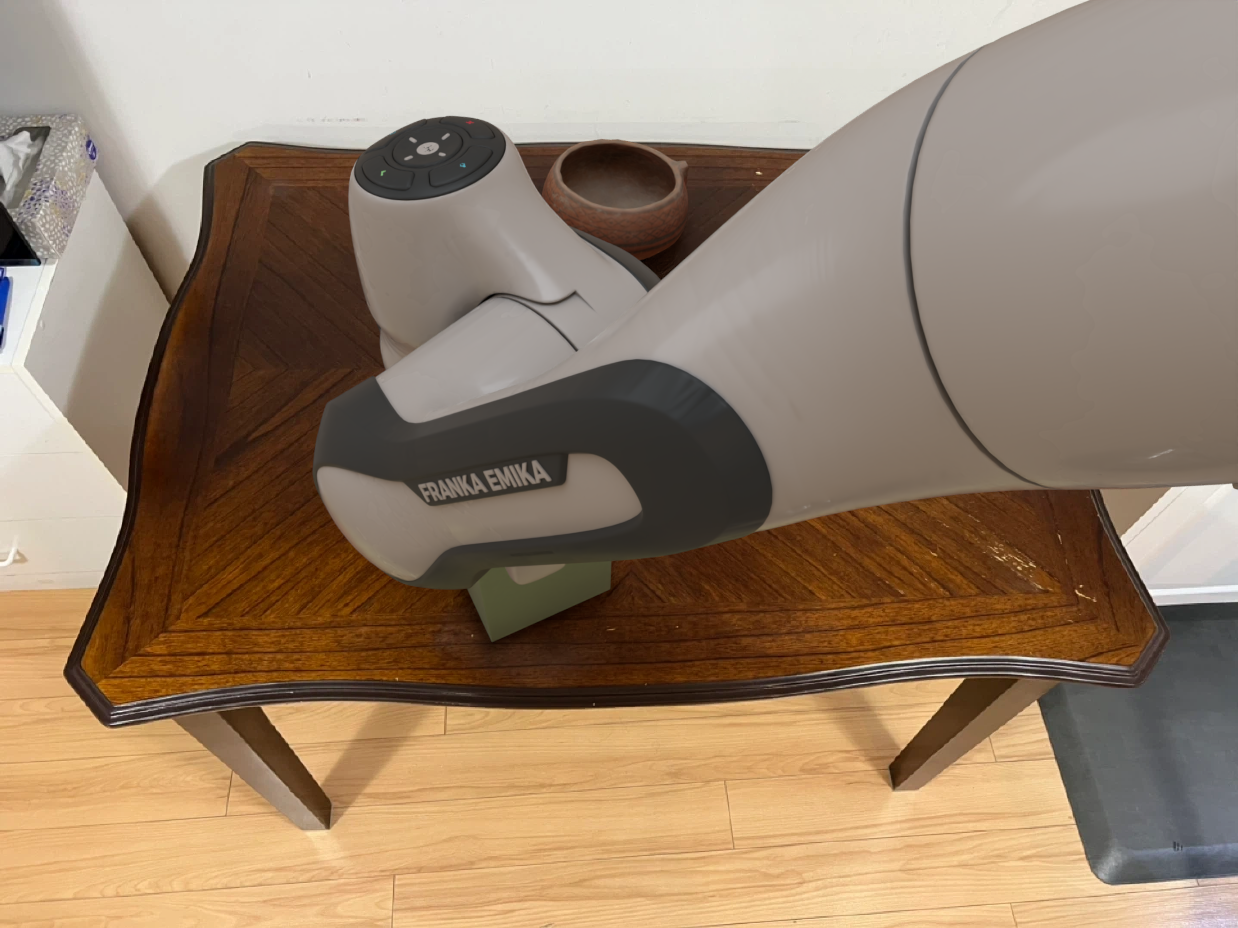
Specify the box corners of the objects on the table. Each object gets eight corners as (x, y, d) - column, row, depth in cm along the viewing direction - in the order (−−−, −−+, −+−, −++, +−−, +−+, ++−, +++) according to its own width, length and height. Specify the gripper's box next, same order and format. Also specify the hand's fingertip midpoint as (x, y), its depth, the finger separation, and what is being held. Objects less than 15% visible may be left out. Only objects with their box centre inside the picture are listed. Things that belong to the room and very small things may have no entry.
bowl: (706, 220, 107) (716, 147, 99) (647, 311, 100) (652, 240, 91) (584, 177, 111) (583, 102, 103) (517, 262, 103) (510, 189, 95)
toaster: (610, 589, 82) (614, 497, 69) (491, 642, 79) (472, 556, 66) (534, 451, 89) (525, 345, 77) (423, 495, 86) (395, 392, 74)
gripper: (593, 488, 51) (592, 600, 63) (453, 247, 61) (475, 382, 73) (484, 533, 50) (504, 640, 61) (359, 277, 59) (396, 410, 71)
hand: (487, 498), depth 67 cm, fingers closed on toaster slider, 2 cm apart
